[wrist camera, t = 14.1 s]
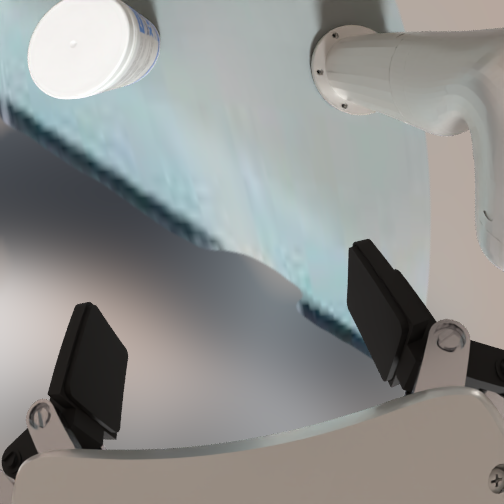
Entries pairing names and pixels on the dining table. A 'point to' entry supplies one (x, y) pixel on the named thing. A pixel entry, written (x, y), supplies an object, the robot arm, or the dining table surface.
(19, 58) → the dining table surface
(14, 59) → the dining table surface
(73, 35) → the supplement tub
